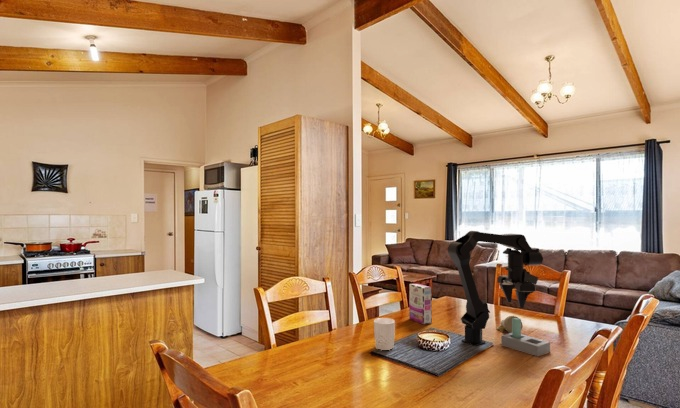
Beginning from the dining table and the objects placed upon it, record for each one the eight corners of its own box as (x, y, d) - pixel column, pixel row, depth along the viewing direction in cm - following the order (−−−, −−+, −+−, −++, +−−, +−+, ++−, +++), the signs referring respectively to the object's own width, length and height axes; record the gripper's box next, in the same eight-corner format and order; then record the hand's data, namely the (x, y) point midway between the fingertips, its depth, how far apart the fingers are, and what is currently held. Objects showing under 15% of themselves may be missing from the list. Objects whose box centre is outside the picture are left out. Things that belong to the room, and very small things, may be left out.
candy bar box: (432, 323, 174) (432, 287, 174) (423, 325, 172) (423, 288, 172) (417, 317, 184) (417, 282, 184) (408, 318, 182) (408, 283, 182)
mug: (510, 327, 168) (519, 310, 164) (516, 344, 160) (527, 326, 155) (493, 323, 168) (502, 305, 164) (499, 339, 160) (509, 321, 155)
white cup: (394, 352, 139) (394, 324, 139) (372, 350, 140) (372, 323, 141) (395, 344, 147) (395, 318, 147) (375, 343, 148) (375, 317, 148)
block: (537, 356, 134) (537, 346, 134) (501, 345, 146) (501, 335, 146) (550, 351, 138) (550, 342, 138) (513, 340, 150) (513, 331, 150)
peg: (518, 347, 143) (517, 320, 143) (510, 345, 145) (510, 318, 145) (522, 346, 144) (522, 319, 144) (515, 343, 147) (515, 317, 147)
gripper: (549, 269, 145) (549, 311, 144) (522, 262, 163) (522, 299, 163) (520, 269, 144) (520, 311, 143) (496, 262, 162) (496, 299, 162)
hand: (515, 304), depth 153 cm, fingers open, 9 cm apart
